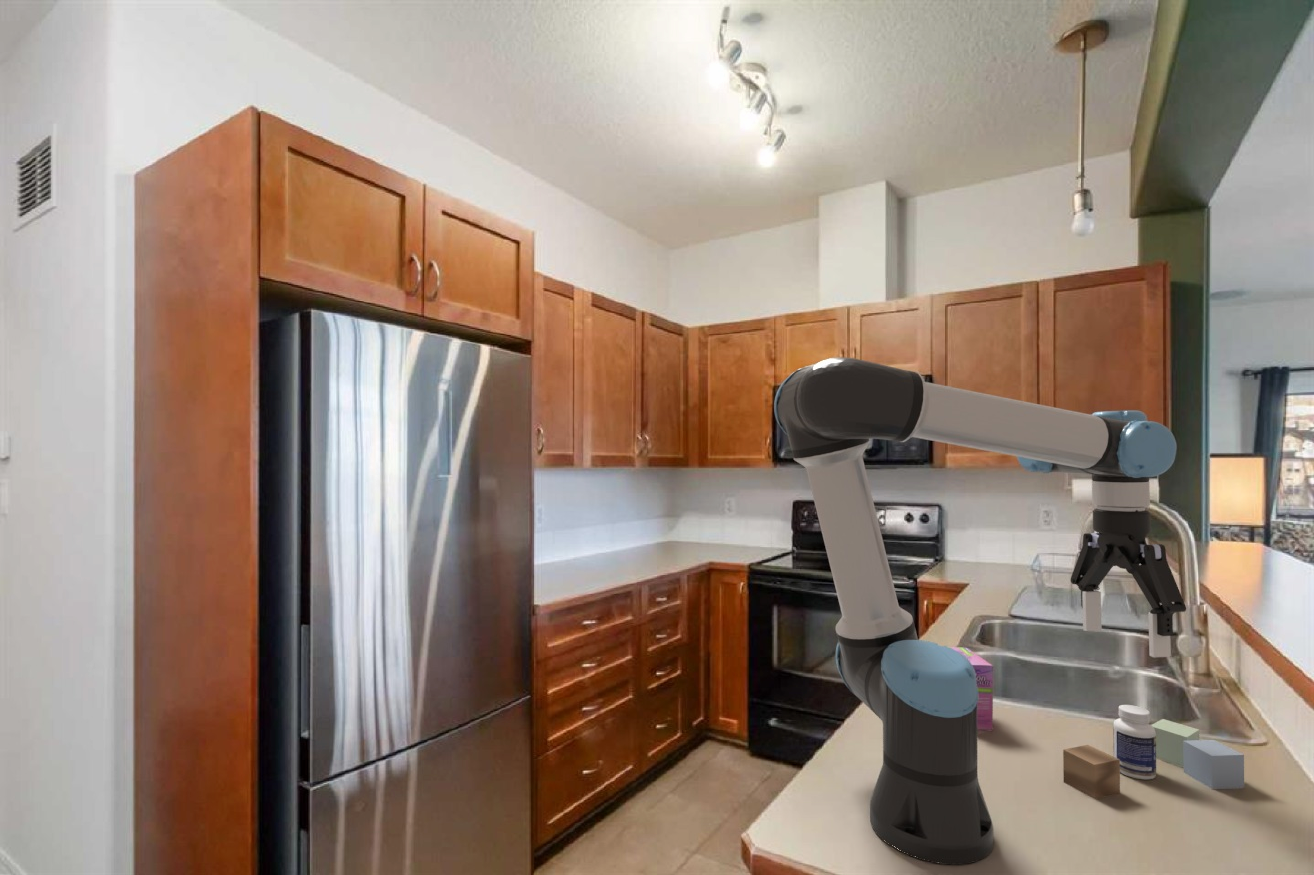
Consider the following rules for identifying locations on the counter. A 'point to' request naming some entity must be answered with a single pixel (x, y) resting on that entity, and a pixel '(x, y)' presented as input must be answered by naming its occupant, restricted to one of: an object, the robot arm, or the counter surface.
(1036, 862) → the counter surface
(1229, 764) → the slate blue cube
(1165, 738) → the sage cube
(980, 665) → the box
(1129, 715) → the pill bottle
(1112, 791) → the walnut cube
